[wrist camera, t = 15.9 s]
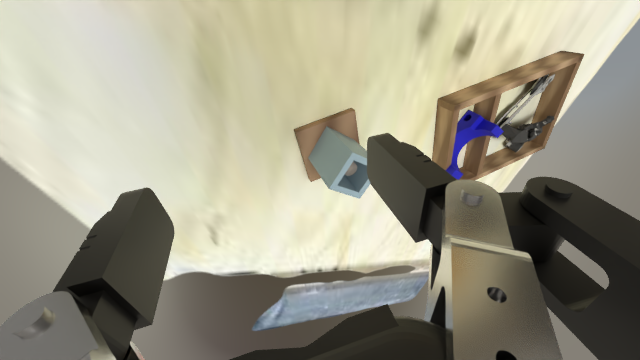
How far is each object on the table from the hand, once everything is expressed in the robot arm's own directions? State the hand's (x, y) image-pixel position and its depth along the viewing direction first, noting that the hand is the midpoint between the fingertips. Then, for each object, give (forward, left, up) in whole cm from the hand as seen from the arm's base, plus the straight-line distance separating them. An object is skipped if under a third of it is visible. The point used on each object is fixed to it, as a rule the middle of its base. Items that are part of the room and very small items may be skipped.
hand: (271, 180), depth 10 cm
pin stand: (-11, +17, -28) cm, 34 cm away
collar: (-11, +17, -26) cm, 33 cm away
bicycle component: (-55, +28, -28) cm, 68 cm away
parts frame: (-47, +27, -28) cm, 61 cm away
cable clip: (-38, +27, -28) cm, 54 cm away
